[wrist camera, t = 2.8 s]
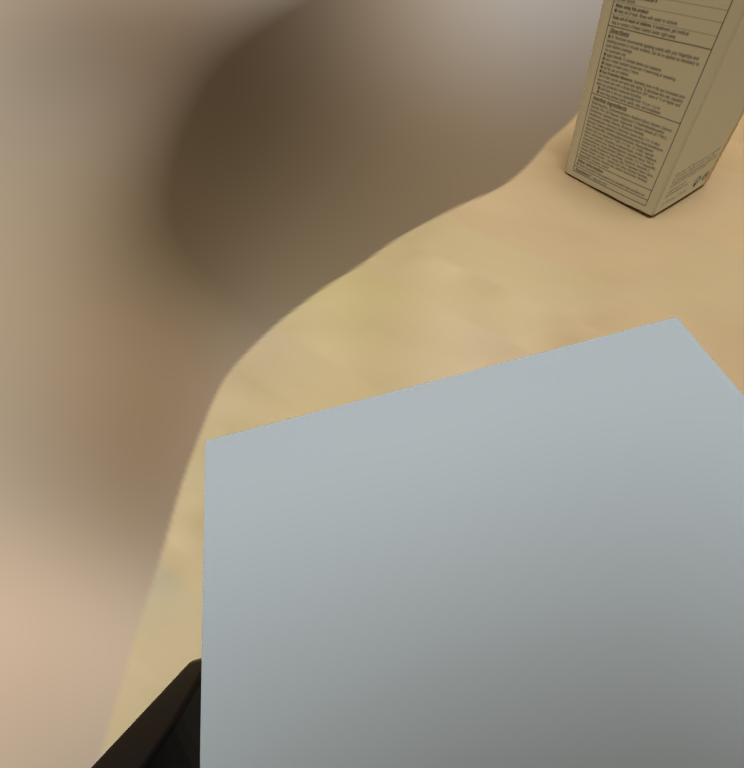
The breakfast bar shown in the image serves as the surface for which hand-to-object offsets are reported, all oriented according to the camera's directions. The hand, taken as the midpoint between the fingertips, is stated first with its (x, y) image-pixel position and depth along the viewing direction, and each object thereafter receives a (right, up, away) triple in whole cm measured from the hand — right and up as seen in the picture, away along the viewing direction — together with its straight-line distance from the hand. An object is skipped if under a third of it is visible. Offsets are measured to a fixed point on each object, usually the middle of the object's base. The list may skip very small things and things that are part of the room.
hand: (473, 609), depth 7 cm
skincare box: (+13, +15, +17) cm, 26 cm away
